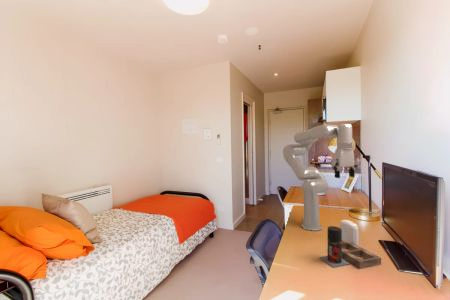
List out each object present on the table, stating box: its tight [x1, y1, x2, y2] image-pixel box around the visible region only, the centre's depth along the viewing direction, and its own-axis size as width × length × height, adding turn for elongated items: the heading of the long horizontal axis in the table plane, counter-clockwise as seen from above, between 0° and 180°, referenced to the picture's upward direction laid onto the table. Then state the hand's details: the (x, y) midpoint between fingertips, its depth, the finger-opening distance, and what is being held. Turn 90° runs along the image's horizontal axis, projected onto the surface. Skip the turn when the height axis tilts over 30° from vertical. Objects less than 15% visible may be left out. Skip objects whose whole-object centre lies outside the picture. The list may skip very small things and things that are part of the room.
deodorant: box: [327, 225, 343, 264], centre depth 103 cm, size 6×6×15 cm
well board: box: [342, 241, 382, 269], centre depth 107 cm, size 18×12×3 cm, turn 15°
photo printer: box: [339, 219, 360, 247], centre depth 122 cm, size 10×4×12 cm, turn 14°
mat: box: [319, 255, 351, 269], centre depth 104 cm, size 9×9×1 cm
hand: (344, 177), depth 122 cm, fingers open, 9 cm apart
